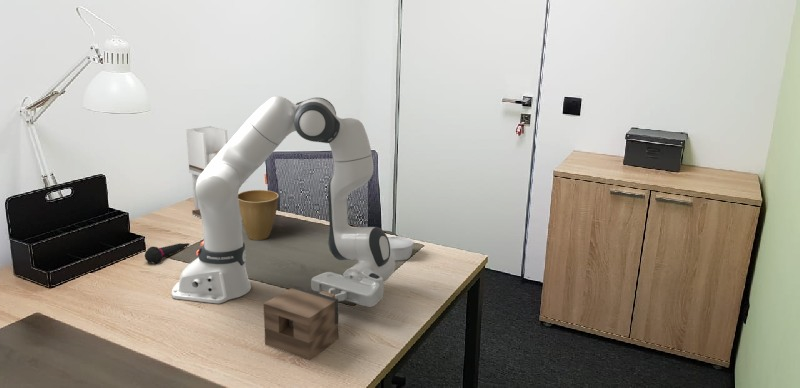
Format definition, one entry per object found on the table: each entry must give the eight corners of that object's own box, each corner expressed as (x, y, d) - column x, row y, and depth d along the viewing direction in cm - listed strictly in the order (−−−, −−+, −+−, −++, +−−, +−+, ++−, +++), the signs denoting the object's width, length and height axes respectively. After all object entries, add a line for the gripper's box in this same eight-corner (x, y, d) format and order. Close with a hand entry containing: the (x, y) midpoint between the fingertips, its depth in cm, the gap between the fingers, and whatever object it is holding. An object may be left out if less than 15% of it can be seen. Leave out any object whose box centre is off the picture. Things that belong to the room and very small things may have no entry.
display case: (192, 215, 249) (186, 129, 239) (215, 209, 257) (210, 126, 247) (208, 221, 242) (202, 133, 232) (231, 215, 250) (227, 130, 240)
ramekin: (412, 250, 220) (413, 236, 218) (414, 262, 209) (414, 248, 207) (381, 249, 219) (381, 235, 218) (381, 262, 208) (381, 247, 207)
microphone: (184, 253, 220) (143, 266, 201) (180, 237, 219) (139, 249, 201) (196, 250, 218) (156, 264, 199) (192, 234, 217) (152, 247, 199)
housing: (309, 360, 149) (308, 318, 146) (265, 344, 156) (263, 303, 152) (338, 339, 159) (338, 299, 156) (295, 324, 166) (294, 286, 162)
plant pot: (233, 243, 221) (230, 200, 217) (245, 229, 235) (243, 188, 231) (274, 245, 221) (272, 202, 216) (283, 230, 235) (282, 190, 230)
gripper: (328, 263, 180) (297, 279, 169) (388, 279, 171) (360, 297, 159) (328, 282, 182) (298, 300, 171) (387, 300, 173) (360, 319, 161)
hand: (328, 299), depth 165 cm, fingers closed, pressing on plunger
